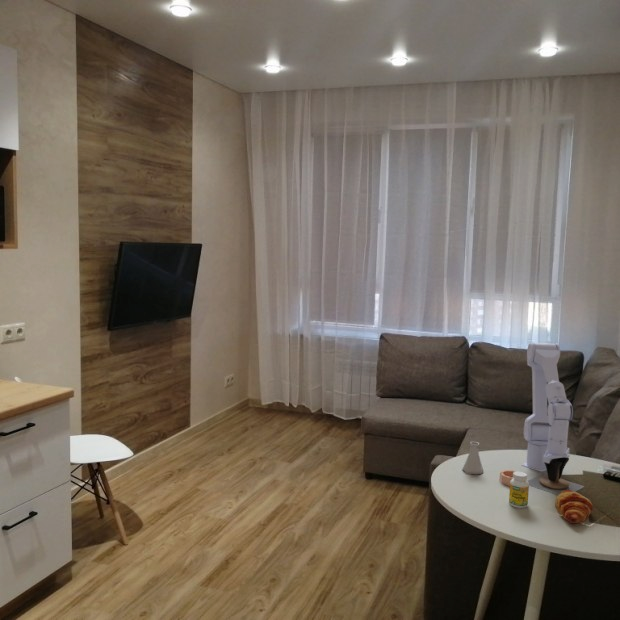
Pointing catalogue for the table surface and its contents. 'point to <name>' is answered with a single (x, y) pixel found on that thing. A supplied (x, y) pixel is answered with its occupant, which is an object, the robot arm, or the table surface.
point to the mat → (537, 484)
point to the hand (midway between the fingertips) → (554, 479)
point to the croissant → (573, 506)
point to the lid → (554, 482)
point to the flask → (473, 460)
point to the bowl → (506, 476)
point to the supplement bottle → (519, 490)
